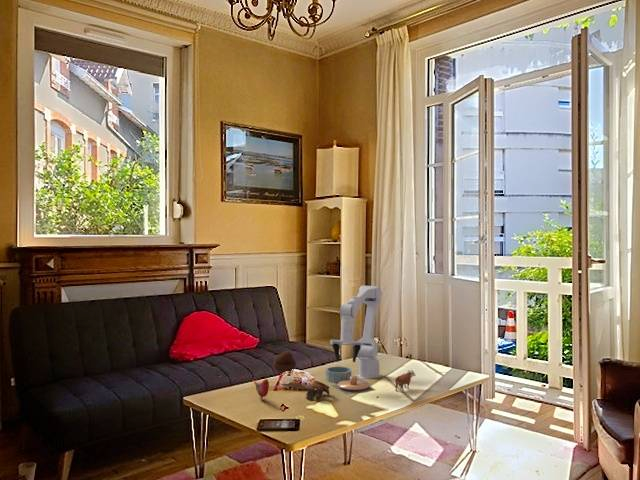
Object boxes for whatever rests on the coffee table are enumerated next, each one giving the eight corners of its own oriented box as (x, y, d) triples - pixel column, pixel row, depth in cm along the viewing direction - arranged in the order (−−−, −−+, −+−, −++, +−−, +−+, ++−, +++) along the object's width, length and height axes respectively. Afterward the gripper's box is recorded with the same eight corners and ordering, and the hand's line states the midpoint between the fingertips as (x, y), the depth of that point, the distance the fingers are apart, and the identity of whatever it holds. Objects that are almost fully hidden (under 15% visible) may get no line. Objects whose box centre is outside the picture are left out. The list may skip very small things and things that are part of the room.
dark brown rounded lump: (297, 380, 262) (297, 348, 262) (294, 386, 251) (294, 353, 251) (275, 379, 263) (275, 348, 263) (271, 386, 252) (271, 353, 252)
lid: (359, 381, 258) (359, 371, 257) (374, 389, 245) (374, 379, 245) (332, 385, 252) (332, 374, 252) (346, 393, 239) (346, 382, 239)
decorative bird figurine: (265, 405, 224) (265, 381, 224) (249, 394, 240) (249, 371, 239) (271, 404, 225) (271, 380, 225) (256, 393, 241) (256, 370, 241)
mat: (360, 382, 258) (360, 381, 258) (376, 390, 245) (376, 390, 245) (331, 386, 252) (331, 385, 252) (346, 395, 238) (346, 394, 238)
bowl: (344, 375, 270) (344, 365, 270) (355, 381, 259) (355, 371, 259) (321, 378, 265) (321, 368, 265) (332, 384, 254) (332, 374, 254)
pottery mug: (302, 396, 238) (310, 378, 240) (322, 406, 238) (329, 387, 241) (307, 397, 226) (315, 378, 229) (328, 407, 227) (336, 388, 230)
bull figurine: (417, 387, 250) (417, 369, 250) (400, 394, 240) (400, 375, 240) (409, 385, 253) (409, 367, 253) (391, 392, 243) (391, 373, 243)
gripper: (333, 330, 244) (331, 361, 242) (365, 332, 246) (363, 363, 245) (330, 329, 251) (328, 359, 249) (361, 331, 253) (359, 361, 251)
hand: (345, 361), depth 247 cm, fingers open, 7 cm apart
